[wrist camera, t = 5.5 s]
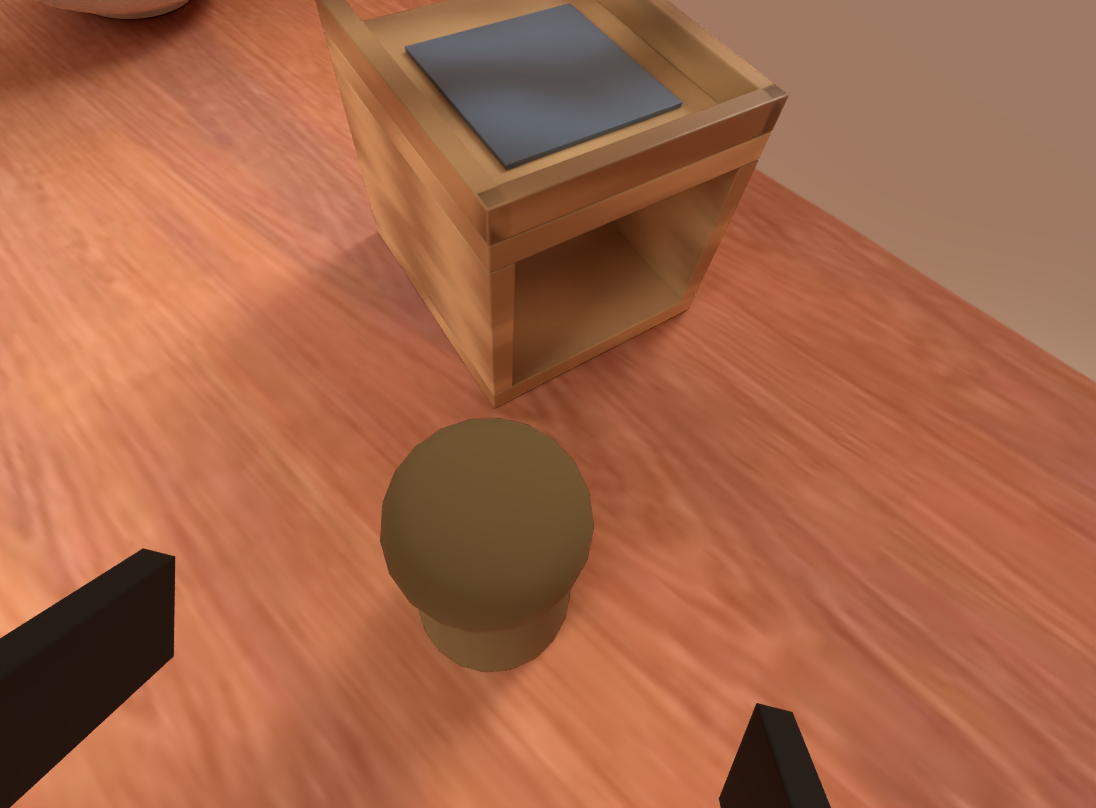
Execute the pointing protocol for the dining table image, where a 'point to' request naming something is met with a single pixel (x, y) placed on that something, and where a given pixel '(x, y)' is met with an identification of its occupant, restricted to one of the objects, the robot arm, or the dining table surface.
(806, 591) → the dining table surface
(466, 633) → the olive pawn piece
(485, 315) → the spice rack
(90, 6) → the cereal bowl
